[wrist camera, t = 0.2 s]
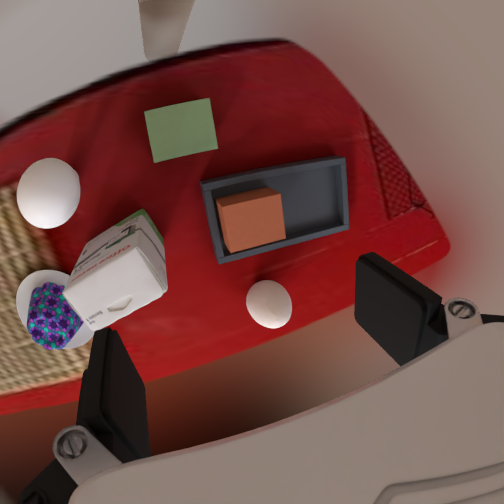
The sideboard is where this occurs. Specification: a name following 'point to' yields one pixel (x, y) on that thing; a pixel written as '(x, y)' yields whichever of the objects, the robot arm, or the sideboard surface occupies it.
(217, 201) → the orange block
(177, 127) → the green block
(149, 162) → the sideboard surface
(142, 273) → the ink box
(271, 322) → the egg
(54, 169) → the lightbulb
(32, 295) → the patterned bowl
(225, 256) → the holder
